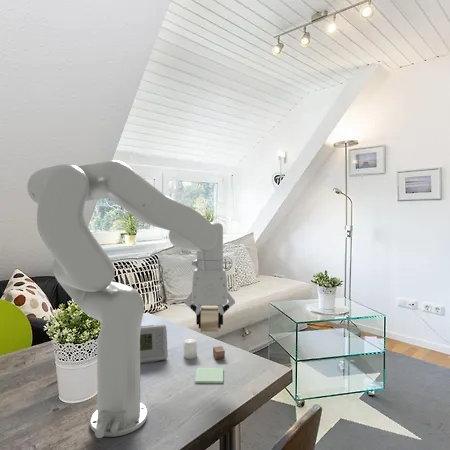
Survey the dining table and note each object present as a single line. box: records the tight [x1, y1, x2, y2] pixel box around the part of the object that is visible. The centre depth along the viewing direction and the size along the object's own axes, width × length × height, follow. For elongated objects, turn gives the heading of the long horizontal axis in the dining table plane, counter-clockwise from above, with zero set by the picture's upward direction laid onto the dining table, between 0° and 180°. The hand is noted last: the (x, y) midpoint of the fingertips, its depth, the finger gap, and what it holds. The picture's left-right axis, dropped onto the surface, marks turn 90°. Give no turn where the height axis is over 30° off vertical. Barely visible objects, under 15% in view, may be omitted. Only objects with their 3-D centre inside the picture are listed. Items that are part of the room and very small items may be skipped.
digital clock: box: [140, 324, 169, 365], centre depth 111 cm, size 16×9×11 cm, turn 96°
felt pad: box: [194, 367, 224, 384], centre depth 101 cm, size 8×8×1 cm
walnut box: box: [212, 345, 226, 361], centre depth 114 cm, size 4×3×3 cm
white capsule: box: [183, 338, 198, 360], centre depth 115 cm, size 4×4×5 cm
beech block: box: [200, 306, 219, 333], centre depth 100 cm, size 5×5×6 cm
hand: (209, 326), depth 100 cm, fingers closed on beech block, 5 cm apart
